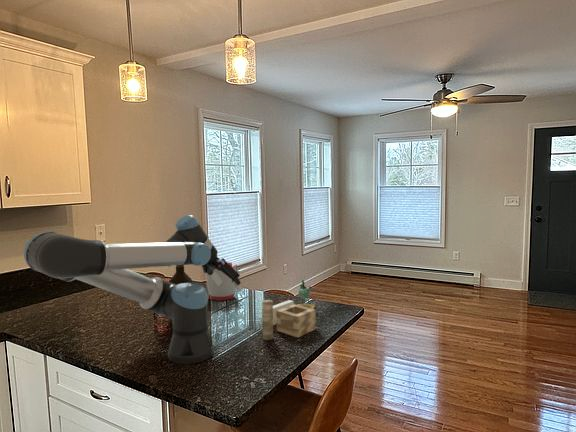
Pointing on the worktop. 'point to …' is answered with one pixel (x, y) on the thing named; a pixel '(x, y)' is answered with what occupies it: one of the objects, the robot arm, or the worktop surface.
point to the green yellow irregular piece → (305, 295)
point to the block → (296, 320)
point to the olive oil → (180, 278)
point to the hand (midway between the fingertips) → (230, 286)
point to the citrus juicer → (221, 286)
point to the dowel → (267, 319)
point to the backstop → (280, 306)
